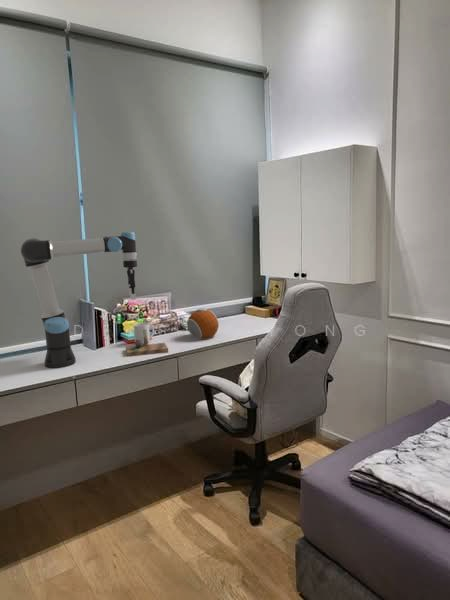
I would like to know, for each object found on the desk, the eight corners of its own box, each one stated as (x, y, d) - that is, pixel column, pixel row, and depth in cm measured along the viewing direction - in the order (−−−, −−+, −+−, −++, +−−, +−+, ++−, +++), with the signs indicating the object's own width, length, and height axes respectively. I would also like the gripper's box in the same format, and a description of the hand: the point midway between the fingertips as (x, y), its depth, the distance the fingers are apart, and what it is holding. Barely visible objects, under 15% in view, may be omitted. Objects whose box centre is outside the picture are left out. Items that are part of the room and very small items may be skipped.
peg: (134, 350, 258) (132, 334, 256) (129, 349, 259) (128, 333, 258) (149, 344, 269) (148, 329, 267) (145, 343, 270) (144, 328, 269)
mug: (137, 345, 277) (136, 326, 275) (132, 342, 284) (131, 324, 282) (157, 342, 282) (156, 324, 280) (151, 339, 290) (150, 321, 288)
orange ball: (224, 336, 290) (223, 308, 287) (200, 342, 279) (199, 313, 277) (206, 331, 305) (205, 304, 302) (183, 336, 295) (181, 308, 292)
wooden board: (127, 356, 255) (127, 352, 255) (125, 350, 267) (125, 346, 267) (168, 351, 261) (167, 348, 260) (164, 346, 273) (164, 342, 273)
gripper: (138, 261, 254) (141, 300, 257) (134, 258, 278) (137, 294, 281) (124, 262, 252) (127, 301, 256) (121, 258, 276) (124, 295, 279)
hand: (132, 297), depth 268 cm, fingers open, 13 cm apart
